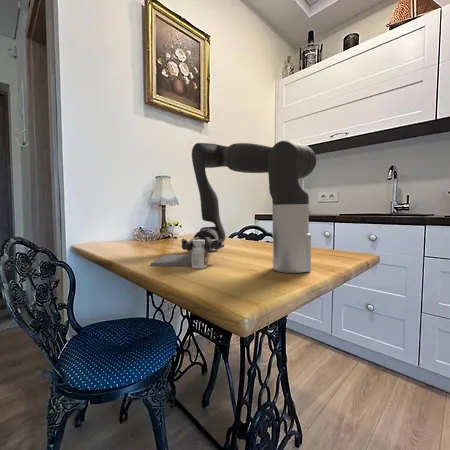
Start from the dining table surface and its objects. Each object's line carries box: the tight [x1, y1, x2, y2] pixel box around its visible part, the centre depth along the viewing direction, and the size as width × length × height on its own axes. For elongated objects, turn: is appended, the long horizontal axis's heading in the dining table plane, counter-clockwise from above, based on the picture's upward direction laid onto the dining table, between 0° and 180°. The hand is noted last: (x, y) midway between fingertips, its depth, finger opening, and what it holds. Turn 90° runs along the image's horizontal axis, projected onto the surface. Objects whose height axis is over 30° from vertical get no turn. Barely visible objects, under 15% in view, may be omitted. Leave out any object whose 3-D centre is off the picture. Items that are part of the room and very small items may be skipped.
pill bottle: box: [190, 240, 208, 269], centre depth 73 cm, size 4×4×8 cm
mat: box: [150, 254, 192, 267], centre depth 83 cm, size 12×14×1 cm
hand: (197, 247), depth 70 cm, fingers closed on pill bottle, 4 cm apart
